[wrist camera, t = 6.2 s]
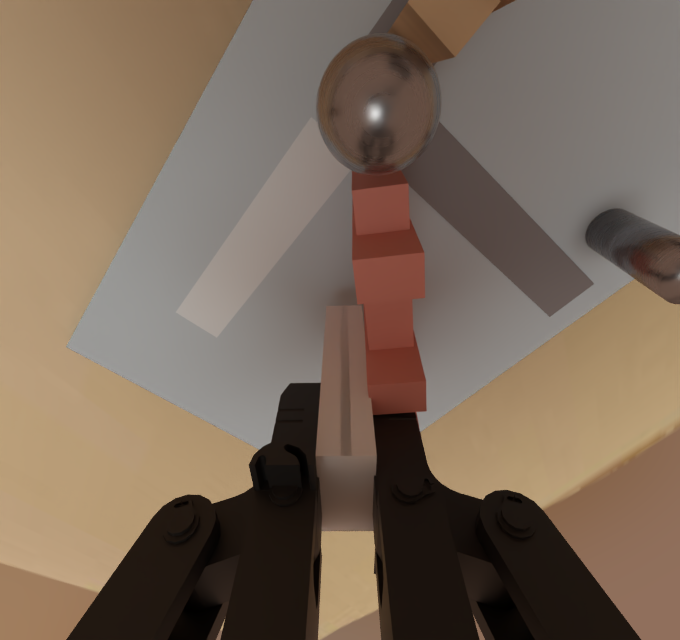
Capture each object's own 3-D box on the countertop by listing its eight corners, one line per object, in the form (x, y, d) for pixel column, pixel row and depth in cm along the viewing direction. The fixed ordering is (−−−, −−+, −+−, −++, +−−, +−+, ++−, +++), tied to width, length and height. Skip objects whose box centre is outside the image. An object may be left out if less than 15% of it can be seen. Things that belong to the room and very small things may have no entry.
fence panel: (349, 154, 12) (346, 209, 7) (392, 148, 12) (423, 200, 7) (373, 377, 17) (382, 512, 12) (404, 375, 17) (428, 510, 12)
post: (363, 41, 11) (377, -19, 5) (412, 93, 12) (485, 103, 5) (320, 103, 12) (282, 124, 5) (368, 147, 12) (385, 215, 6)
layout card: (694, -805, 6) (718, -868, 5) (960, 33, 11) (982, 31, 10) (71, 341, 18) (65, 347, 17) (337, 485, 23) (337, 492, 22)
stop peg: (617, 198, 13) (710, 238, 10) (641, 227, 14) (738, 275, 10) (576, 233, 14) (649, 281, 10) (600, 259, 14) (677, 314, 11)
